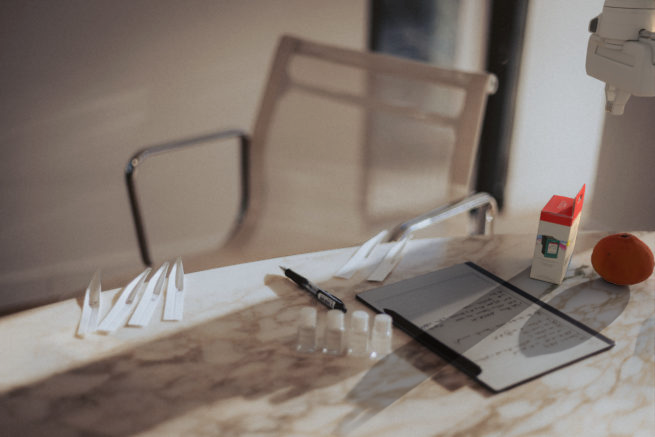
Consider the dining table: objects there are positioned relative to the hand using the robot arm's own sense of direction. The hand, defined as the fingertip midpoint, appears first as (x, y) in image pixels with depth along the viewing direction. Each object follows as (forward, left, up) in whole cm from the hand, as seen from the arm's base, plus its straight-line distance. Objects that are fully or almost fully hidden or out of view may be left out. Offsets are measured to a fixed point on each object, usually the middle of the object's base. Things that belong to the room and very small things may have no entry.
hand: (613, 113), depth 103 cm
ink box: (+11, +12, -24) cm, 29 cm away
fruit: (+1, +14, -24) cm, 28 cm away
